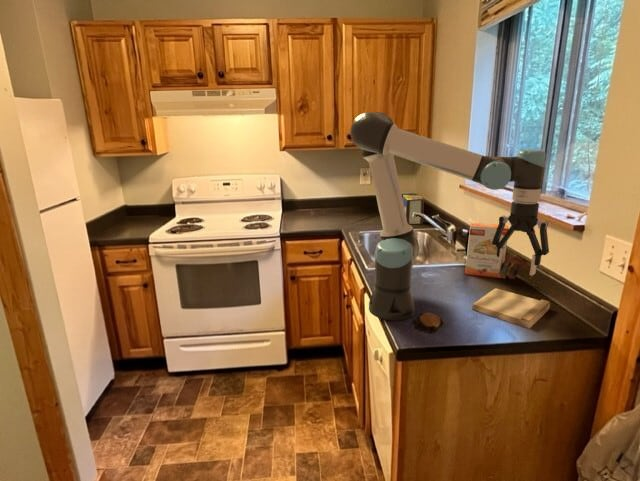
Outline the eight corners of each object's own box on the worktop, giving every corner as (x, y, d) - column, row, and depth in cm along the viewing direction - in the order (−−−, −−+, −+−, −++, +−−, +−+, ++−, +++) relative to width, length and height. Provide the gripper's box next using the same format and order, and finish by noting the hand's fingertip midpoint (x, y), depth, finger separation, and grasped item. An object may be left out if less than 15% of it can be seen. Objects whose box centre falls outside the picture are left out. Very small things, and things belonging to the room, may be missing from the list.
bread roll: (420, 315, 128) (420, 305, 127) (446, 321, 124) (446, 311, 123) (408, 329, 120) (409, 318, 119) (436, 336, 115) (437, 325, 114)
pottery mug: (498, 271, 134) (513, 251, 132) (523, 288, 130) (539, 268, 128) (493, 273, 124) (509, 252, 122) (520, 292, 120) (537, 270, 117)
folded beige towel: (472, 309, 131) (472, 302, 130) (494, 293, 142) (495, 286, 142) (529, 328, 118) (530, 320, 117) (549, 308, 130) (550, 301, 129)
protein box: (417, 218, 253) (418, 194, 249) (422, 224, 239) (424, 199, 234) (401, 218, 254) (402, 194, 249) (405, 224, 239) (406, 199, 234)
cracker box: (465, 275, 160) (469, 225, 154) (465, 269, 165) (469, 221, 159) (502, 279, 155) (509, 228, 149) (501, 273, 160) (507, 224, 154)
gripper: (484, 199, 125) (478, 265, 131) (561, 208, 110) (549, 282, 116) (494, 195, 130) (487, 259, 136) (569, 204, 115) (557, 275, 121)
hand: (516, 270), depth 126 cm, fingers closed on pottery mug, 9 cm apart
